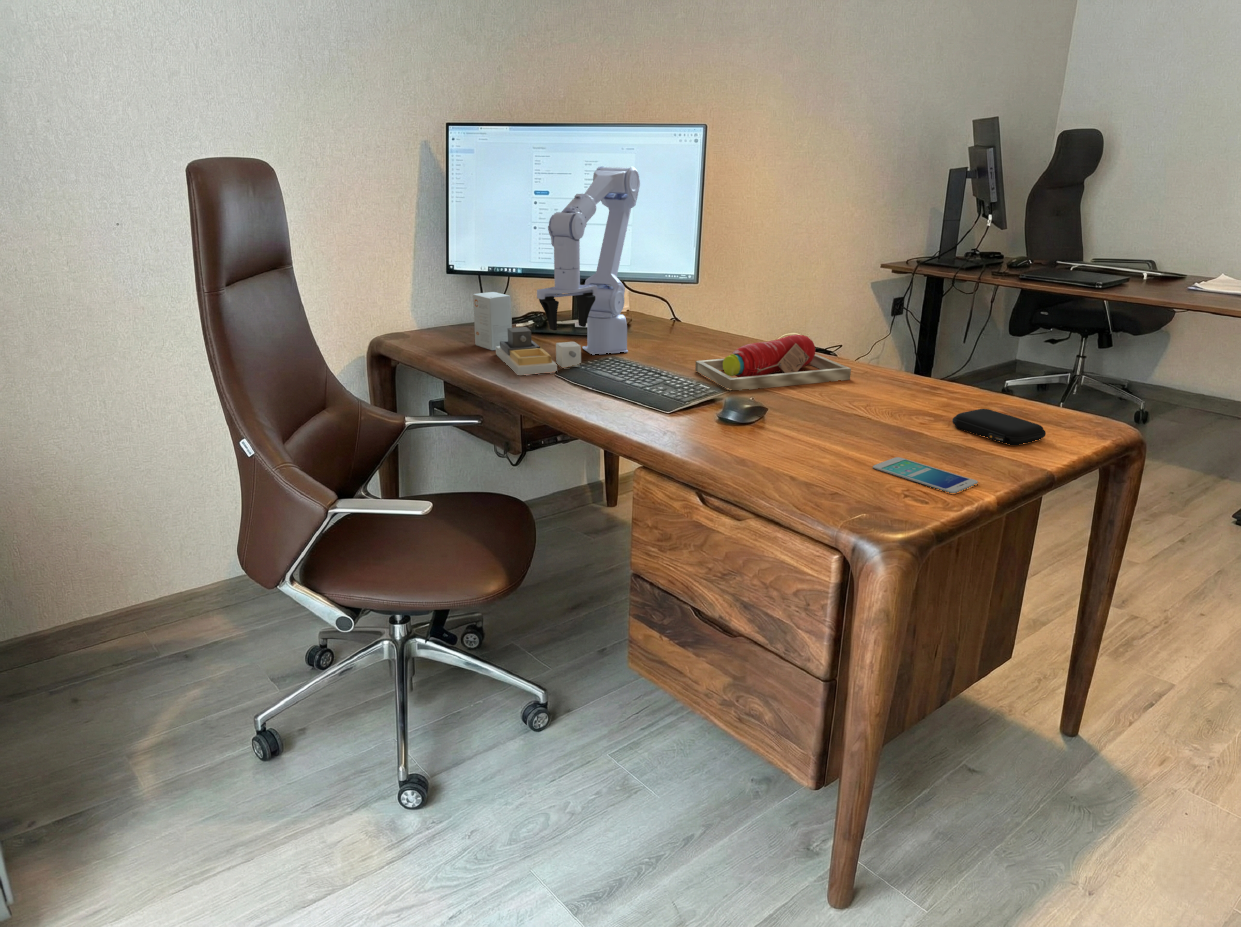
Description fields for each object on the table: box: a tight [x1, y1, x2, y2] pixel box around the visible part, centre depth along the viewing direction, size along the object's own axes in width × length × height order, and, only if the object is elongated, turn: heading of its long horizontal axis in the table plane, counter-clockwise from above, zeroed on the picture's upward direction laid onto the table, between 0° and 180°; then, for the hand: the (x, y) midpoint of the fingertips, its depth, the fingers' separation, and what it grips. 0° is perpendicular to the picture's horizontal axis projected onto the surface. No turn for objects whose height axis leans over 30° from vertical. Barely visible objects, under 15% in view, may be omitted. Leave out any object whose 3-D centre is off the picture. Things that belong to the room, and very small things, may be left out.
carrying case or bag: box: [951, 408, 1047, 446], centre depth 165 cm, size 11×3×15 cm
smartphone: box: [872, 456, 979, 493], centre depth 145 cm, size 8×1×15 cm
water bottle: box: [723, 334, 816, 378], centre depth 202 cm, size 12×8×25 cm
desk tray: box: [694, 353, 852, 391], centre depth 203 cm, size 29×17×2 cm, turn 110°
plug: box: [555, 341, 582, 368], centre depth 210 cm, size 4×7×5 cm
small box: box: [472, 291, 513, 351], centre depth 228 cm, size 8×6×13 cm
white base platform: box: [495, 340, 558, 375], centre depth 213 cm, size 9×22×4 cm, turn 20°
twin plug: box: [507, 326, 533, 348], centre depth 215 cm, size 4×7×5 cm
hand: (567, 327), depth 209 cm, fingers open, 7 cm apart
